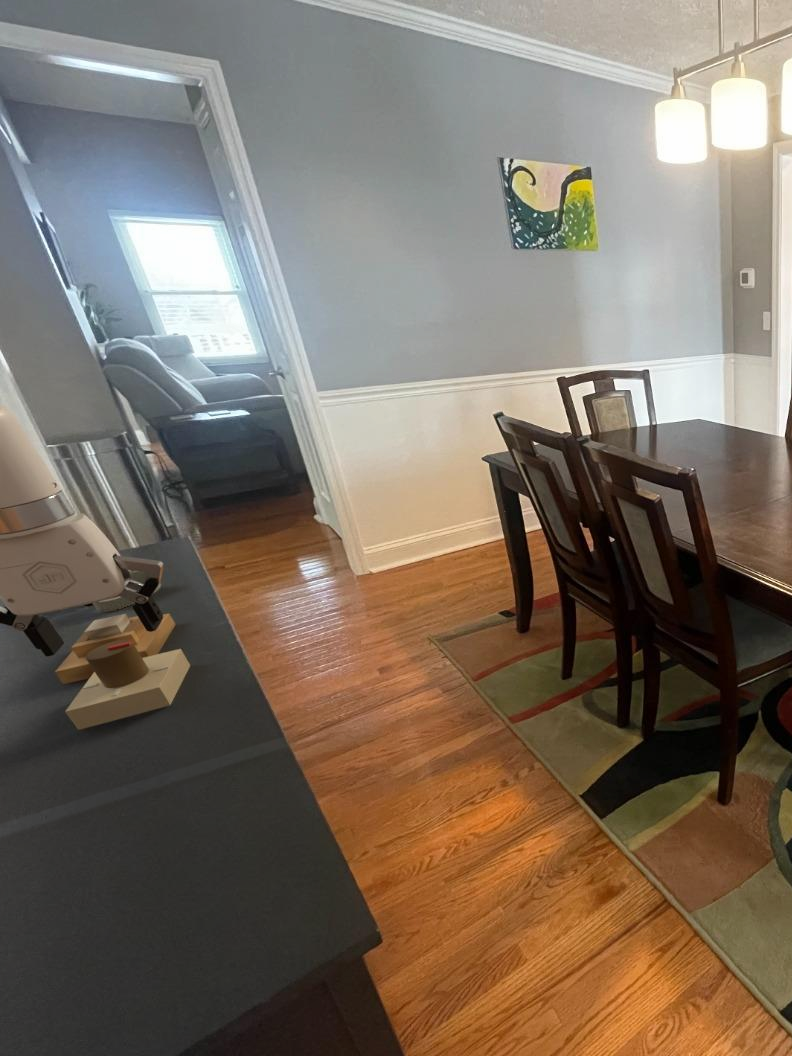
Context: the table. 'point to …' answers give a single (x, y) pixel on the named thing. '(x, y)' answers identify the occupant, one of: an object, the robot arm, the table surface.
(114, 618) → the grey square frustum
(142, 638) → the block
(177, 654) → the volume panel
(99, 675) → the volume knob
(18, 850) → the table surface
